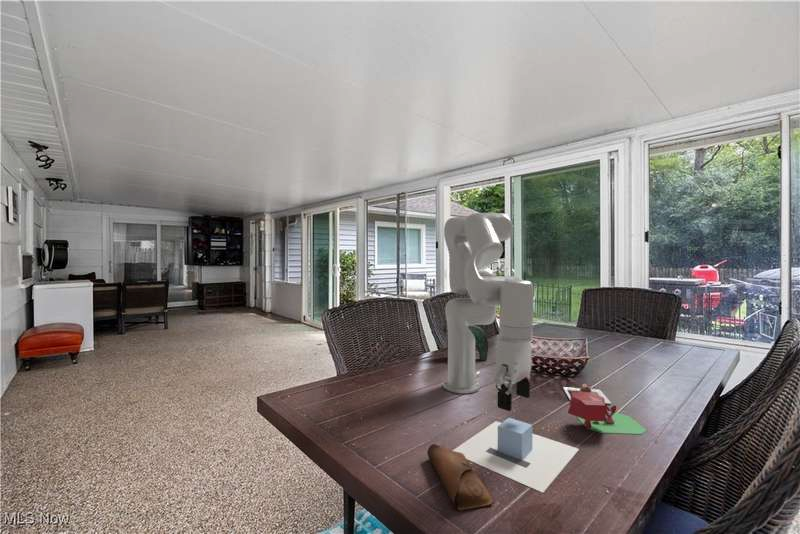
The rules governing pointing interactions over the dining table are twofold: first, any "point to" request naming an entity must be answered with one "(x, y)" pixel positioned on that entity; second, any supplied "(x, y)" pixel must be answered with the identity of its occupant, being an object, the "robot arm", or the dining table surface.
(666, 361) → the dining table surface
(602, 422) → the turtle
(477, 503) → the sunglasses case
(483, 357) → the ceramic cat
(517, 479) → the letter mat
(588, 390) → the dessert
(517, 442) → the blue cube
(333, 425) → the dining table surface
